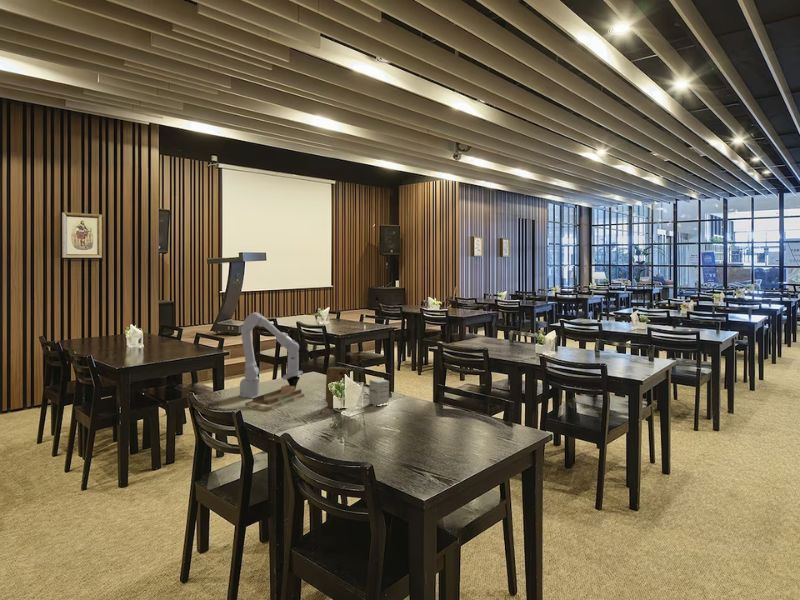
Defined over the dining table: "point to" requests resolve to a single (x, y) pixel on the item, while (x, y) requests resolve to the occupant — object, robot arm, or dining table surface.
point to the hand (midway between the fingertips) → (292, 390)
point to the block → (333, 376)
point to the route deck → (274, 400)
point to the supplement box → (378, 391)
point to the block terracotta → (287, 389)
